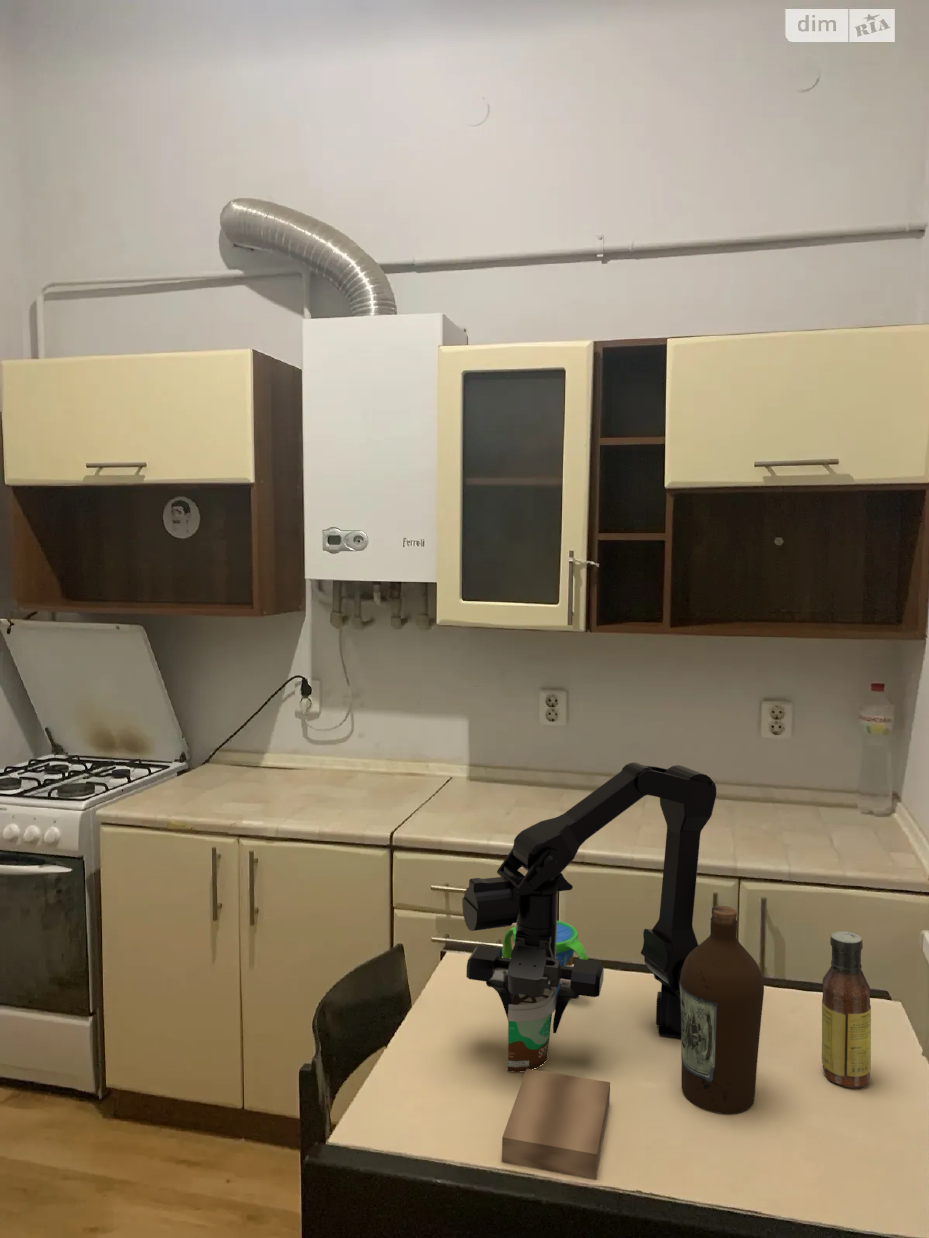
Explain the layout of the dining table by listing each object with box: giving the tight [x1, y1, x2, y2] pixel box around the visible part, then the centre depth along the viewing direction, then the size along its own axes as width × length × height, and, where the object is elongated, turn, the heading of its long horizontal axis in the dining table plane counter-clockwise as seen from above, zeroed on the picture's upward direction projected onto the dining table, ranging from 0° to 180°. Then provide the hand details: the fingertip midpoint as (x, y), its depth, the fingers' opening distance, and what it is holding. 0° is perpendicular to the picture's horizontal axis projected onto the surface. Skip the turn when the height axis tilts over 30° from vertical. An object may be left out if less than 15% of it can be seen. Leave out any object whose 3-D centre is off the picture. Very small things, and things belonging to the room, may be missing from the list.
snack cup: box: [501, 920, 589, 995], centre depth 149 cm, size 16×10×10 cm
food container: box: [507, 987, 557, 1073], centre depth 130 cm, size 12×6×10 cm, turn 168°
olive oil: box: [680, 905, 765, 1115], centre depth 121 cm, size 11×11×25 cm
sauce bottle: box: [821, 930, 872, 1089], centre depth 125 cm, size 6×6×20 cm
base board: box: [501, 1069, 611, 1180], centre depth 113 cm, size 11×15×3 cm
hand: (533, 1028), depth 130 cm, fingers closed on food container, 6 cm apart
